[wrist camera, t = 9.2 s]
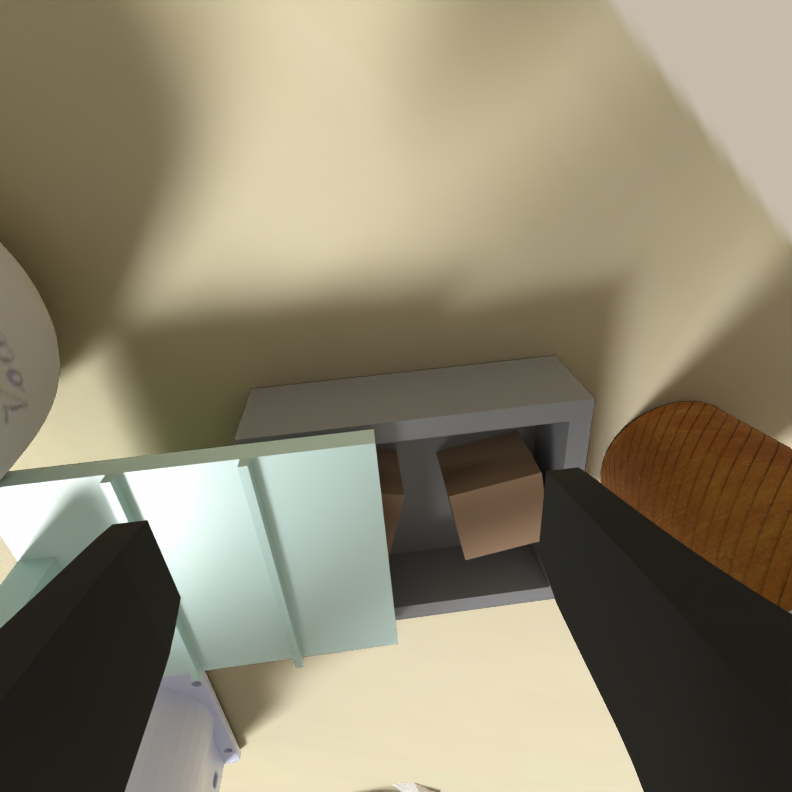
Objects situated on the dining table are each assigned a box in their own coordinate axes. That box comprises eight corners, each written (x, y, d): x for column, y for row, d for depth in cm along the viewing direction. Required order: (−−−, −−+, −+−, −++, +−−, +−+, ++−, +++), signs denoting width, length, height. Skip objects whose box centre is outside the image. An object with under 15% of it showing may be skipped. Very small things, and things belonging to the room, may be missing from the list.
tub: (555, 355, 20) (595, 398, 17) (537, 537, 24) (566, 596, 21) (251, 388, 19) (234, 440, 16) (296, 569, 24) (289, 634, 21)
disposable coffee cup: (523, 488, 23) (678, 797, 12) (682, 325, 19) (1076, 560, 9) (654, 558, 26) (862, 848, 16) (808, 429, 23) (1204, 689, 12)
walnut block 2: (527, 492, 22) (550, 538, 20) (451, 512, 22) (465, 560, 20) (517, 430, 20) (541, 472, 18) (436, 452, 21) (448, 496, 18)
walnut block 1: (381, 514, 22) (387, 563, 19) (302, 508, 21) (297, 558, 19) (396, 450, 20) (404, 495, 18) (311, 442, 20) (307, 487, 17)
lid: (373, 429, 16) (385, 538, 12) (396, 626, 21) (410, 753, 17) (-12, 473, 15) (-144, 606, 11) (105, 666, 20) (45, 808, 16)
